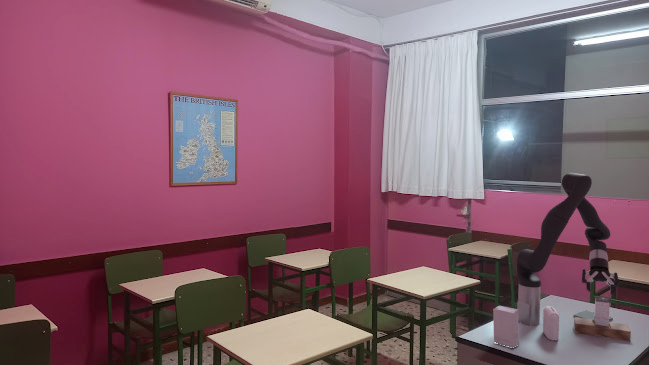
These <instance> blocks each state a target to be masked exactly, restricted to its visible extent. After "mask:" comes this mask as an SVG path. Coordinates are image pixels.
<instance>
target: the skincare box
mask: <svg viewBox="0 0 649 365" xmlns="http://www.w3.org/2000/svg"><path fill="white" fill-rule="evenodd" d="M492 312H493V316H492V317H493V319H492V321H493V343H494V342H496V343H498V344H501V345H505V346H509V347H512V348H513V347H515V346H517V345H518V344H519V345H520V332H519V330H520V329H519V328H520V327H519V323H520V322H519V321H518V309H517V308H512V307H509V306H502V305H498V306H496V307H495V308H493V309H492ZM519 345H518V346H519ZM518 346H517V347H518Z"/></svg>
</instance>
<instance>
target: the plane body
mask: <svg viewBox="0 0 649 365" xmlns="http://www.w3.org/2000/svg"><path fill="white" fill-rule="evenodd" d="M573 318H574V322H573V328H574V333H576V334H581V335H582V334H584V335H589V336H596V337H600V338H601V337H602V338H608V339H614V340H623V341H627V342H631V332H632V331H631V328H629V325H628V324H626V323H620V322H612V321H609V328H607V327H600V326H595V325H594V320H592V319H585V318H578V317H573Z"/></svg>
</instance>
